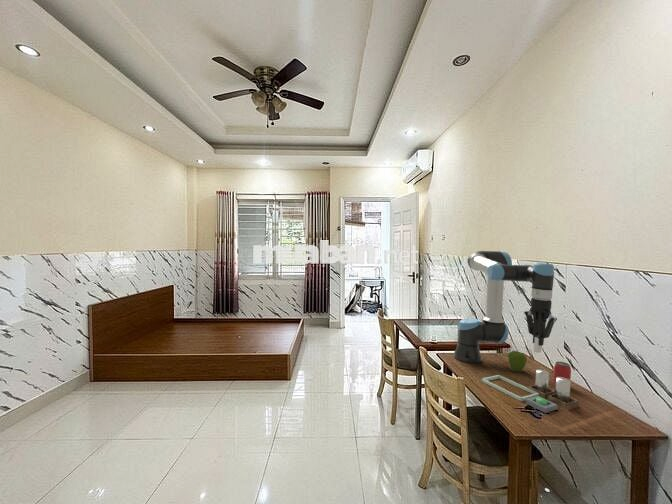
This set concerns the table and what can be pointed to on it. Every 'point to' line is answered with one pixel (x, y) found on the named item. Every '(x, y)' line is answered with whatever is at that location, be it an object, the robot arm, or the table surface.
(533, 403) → the grey square button housing
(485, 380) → the tray
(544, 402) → the button
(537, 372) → the cylinder
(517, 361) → the apple
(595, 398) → the table surface
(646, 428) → the table surface
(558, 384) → the cylinder
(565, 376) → the beer can
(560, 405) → the tray
